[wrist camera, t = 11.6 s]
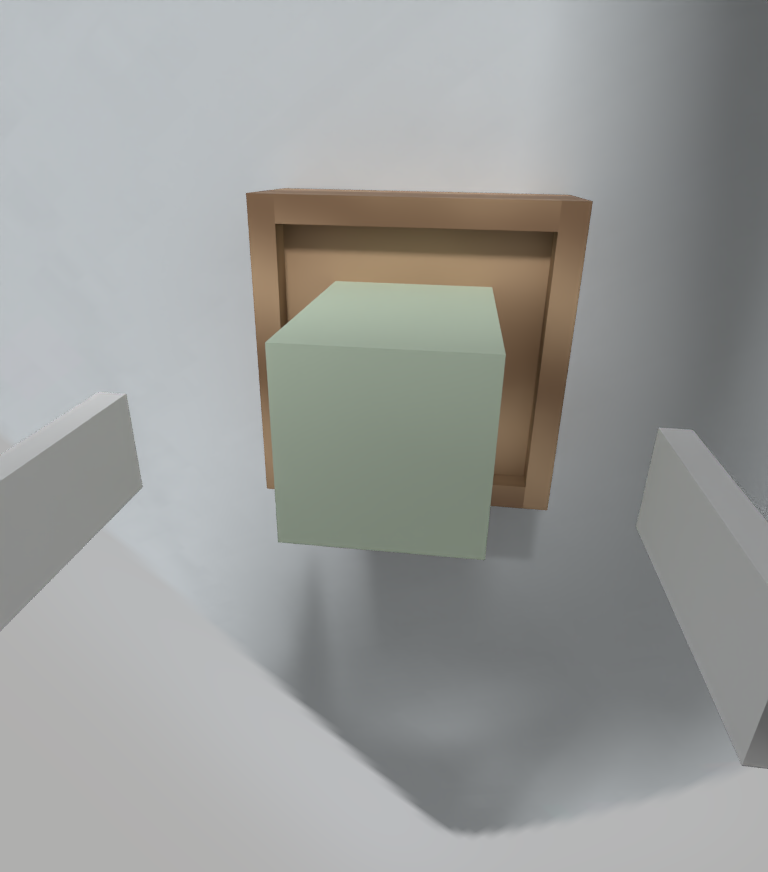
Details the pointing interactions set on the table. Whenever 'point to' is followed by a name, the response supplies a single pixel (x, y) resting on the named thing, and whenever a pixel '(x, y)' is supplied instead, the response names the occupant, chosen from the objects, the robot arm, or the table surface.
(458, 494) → the green block
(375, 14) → the table surface
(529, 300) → the brown crate
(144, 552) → the table surface
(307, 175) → the table surface
